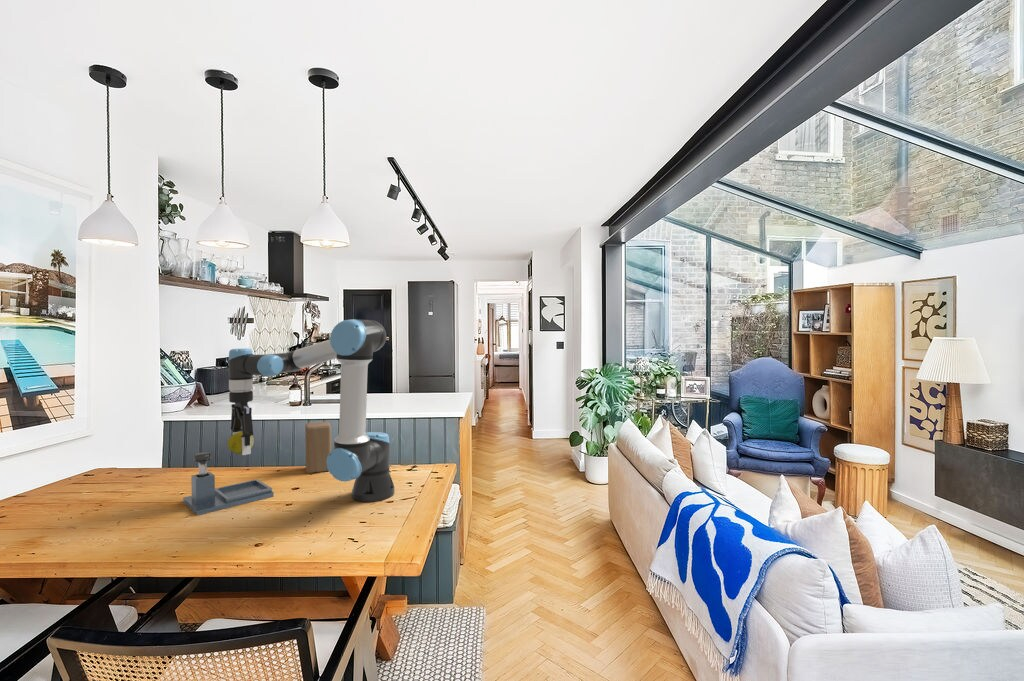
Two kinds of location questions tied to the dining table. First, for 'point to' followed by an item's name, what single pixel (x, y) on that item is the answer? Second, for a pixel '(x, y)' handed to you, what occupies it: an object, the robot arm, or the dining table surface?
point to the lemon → (237, 443)
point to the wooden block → (317, 446)
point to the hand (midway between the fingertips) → (241, 451)
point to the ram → (202, 462)
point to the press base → (223, 494)
